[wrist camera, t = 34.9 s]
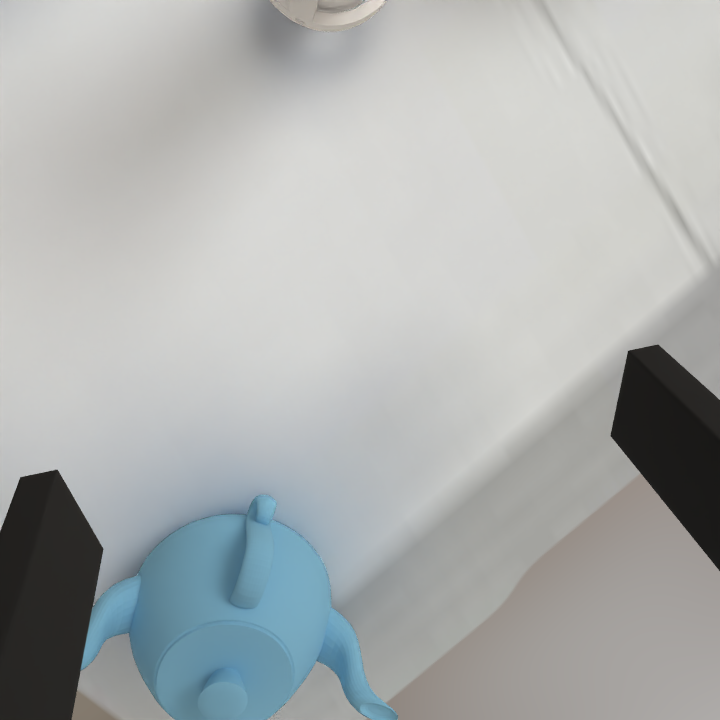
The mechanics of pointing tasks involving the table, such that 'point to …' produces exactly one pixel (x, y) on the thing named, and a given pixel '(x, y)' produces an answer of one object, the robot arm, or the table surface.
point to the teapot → (232, 620)
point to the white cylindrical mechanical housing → (328, 13)
